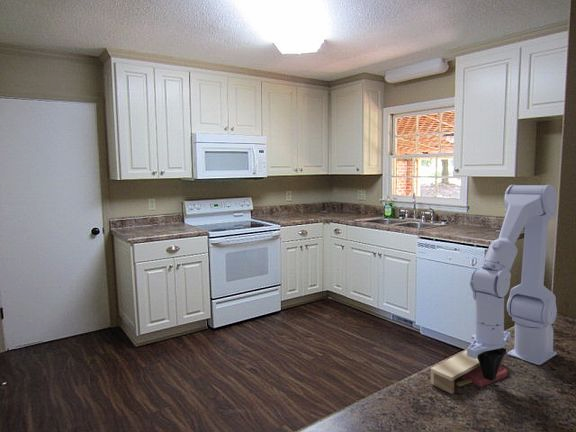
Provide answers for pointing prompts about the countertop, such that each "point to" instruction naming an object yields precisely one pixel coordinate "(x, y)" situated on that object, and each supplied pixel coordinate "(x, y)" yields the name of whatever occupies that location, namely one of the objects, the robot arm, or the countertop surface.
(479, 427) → the countertop surface
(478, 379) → the popsicle
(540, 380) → the countertop surface
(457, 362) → the rail
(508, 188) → the robot arm
